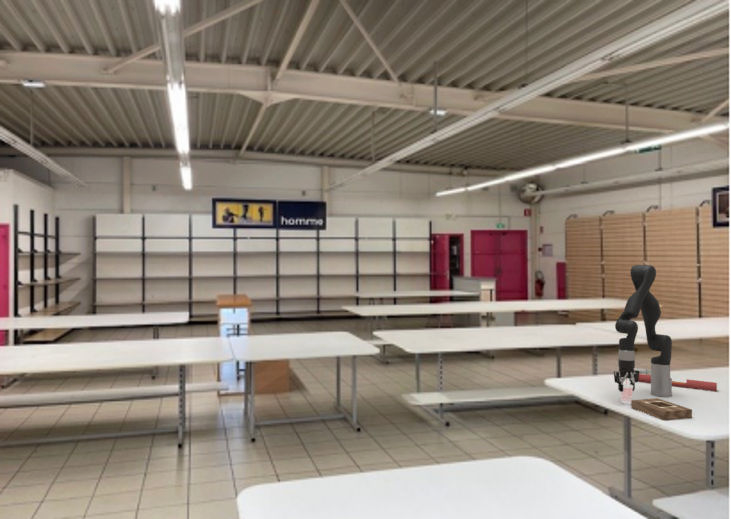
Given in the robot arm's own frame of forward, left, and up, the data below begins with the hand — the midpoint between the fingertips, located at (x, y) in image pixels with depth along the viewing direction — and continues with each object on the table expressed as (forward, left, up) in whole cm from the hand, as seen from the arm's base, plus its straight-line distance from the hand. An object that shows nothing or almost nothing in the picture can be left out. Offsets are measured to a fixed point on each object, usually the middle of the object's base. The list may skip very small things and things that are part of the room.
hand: (626, 390), depth 263 cm
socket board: (-4, +18, -6) cm, 20 cm away
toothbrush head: (-55, -53, -7) cm, 77 cm away
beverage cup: (0, 0, -6) cm, 6 cm away
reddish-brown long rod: (-56, -26, -7) cm, 62 cm away
